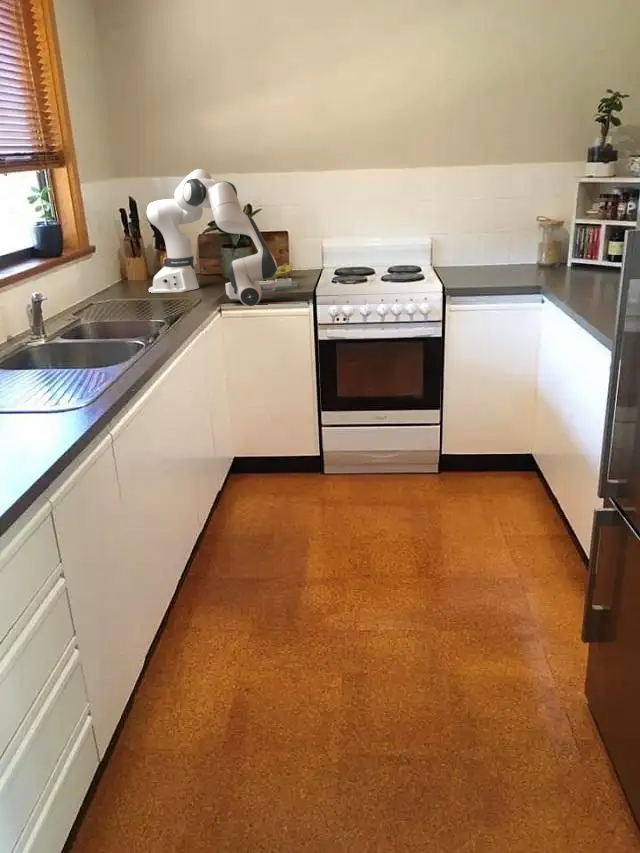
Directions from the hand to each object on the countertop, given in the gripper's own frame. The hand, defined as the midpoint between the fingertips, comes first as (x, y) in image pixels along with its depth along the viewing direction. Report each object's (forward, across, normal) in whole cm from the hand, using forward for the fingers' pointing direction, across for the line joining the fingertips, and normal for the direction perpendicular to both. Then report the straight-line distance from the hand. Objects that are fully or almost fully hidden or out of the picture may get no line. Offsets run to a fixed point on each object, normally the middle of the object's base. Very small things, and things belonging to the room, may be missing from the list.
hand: (250, 283), depth 302 cm
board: (+20, -12, +6) cm, 24 cm away
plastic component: (+44, -9, +6) cm, 45 cm away
